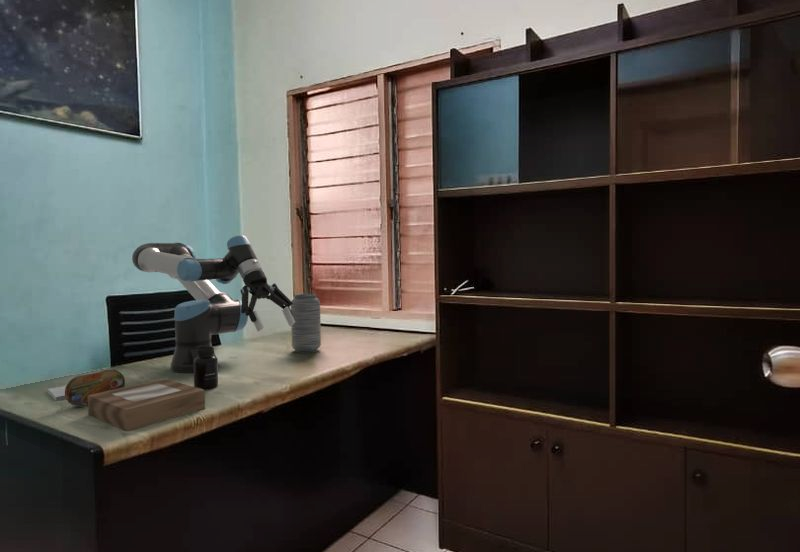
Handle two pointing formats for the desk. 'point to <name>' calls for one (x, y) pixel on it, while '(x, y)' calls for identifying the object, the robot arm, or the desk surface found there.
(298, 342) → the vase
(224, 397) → the desk surface
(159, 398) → the plinth
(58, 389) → the hard drive
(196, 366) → the supplement bottle
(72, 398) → the tin
